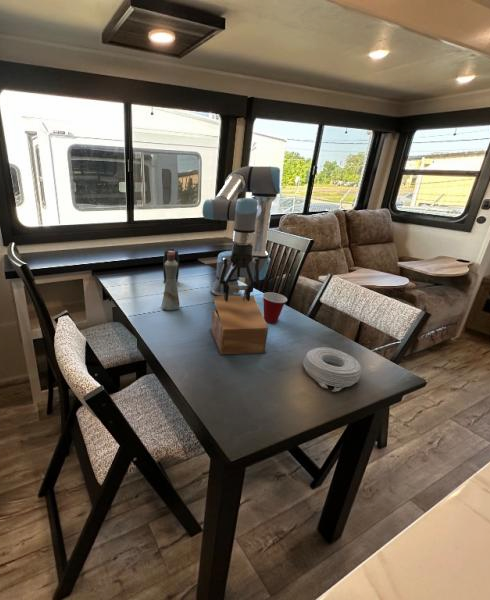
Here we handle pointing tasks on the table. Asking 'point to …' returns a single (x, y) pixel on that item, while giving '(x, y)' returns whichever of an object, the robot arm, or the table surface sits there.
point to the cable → (332, 368)
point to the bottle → (170, 284)
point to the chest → (237, 338)
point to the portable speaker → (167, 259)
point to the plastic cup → (272, 306)
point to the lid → (239, 312)
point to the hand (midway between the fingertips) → (236, 299)
